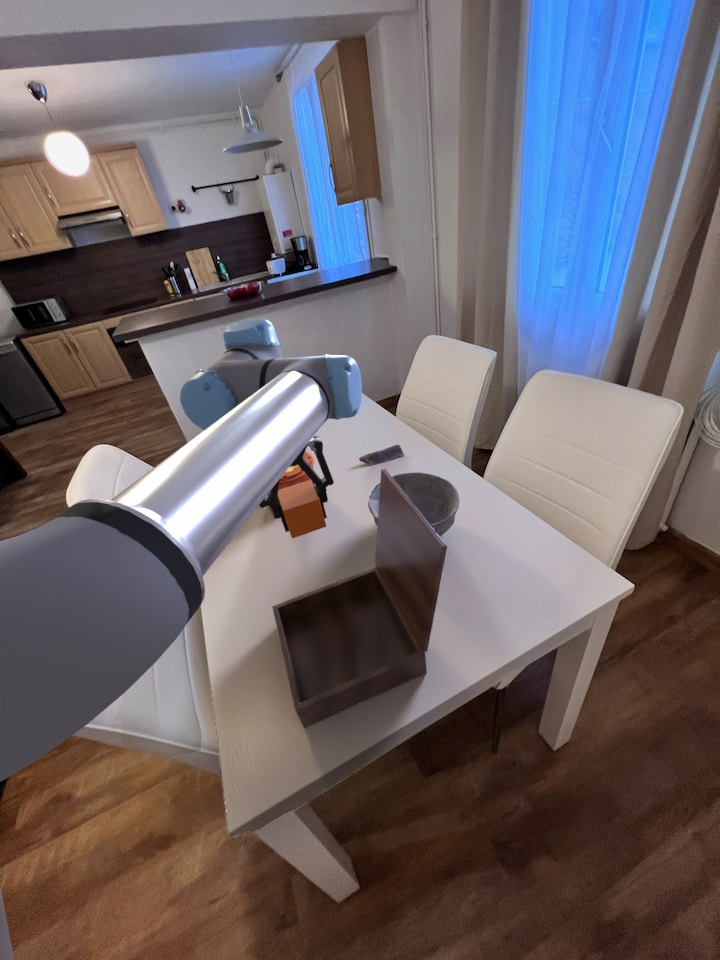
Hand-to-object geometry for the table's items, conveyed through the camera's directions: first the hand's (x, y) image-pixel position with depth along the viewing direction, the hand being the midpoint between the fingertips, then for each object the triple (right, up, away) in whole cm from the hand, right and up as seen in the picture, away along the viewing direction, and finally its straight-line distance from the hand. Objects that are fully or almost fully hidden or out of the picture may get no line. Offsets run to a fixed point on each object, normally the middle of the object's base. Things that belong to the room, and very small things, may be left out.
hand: (304, 520), depth 80 cm
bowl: (+24, -4, +17) cm, 30 cm away
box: (+9, -23, -6) cm, 25 cm away
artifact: (+18, +15, +44) cm, 49 cm away
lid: (+18, -5, -14) cm, 23 cm away
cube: (0, 0, 0) cm, 0 cm away
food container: (-8, +4, +35) cm, 37 cm away
